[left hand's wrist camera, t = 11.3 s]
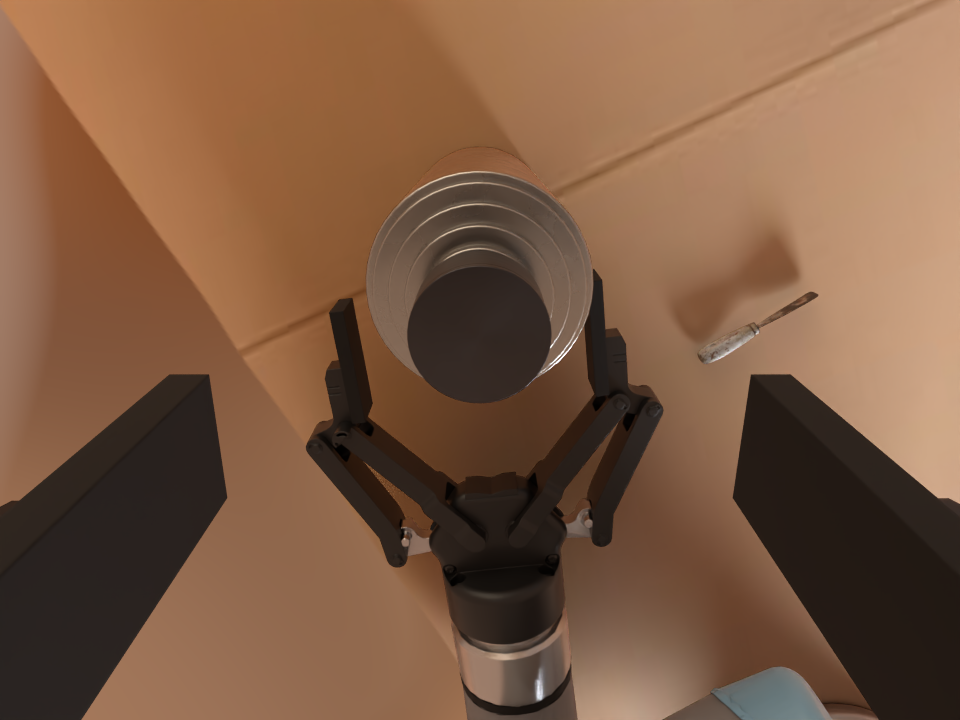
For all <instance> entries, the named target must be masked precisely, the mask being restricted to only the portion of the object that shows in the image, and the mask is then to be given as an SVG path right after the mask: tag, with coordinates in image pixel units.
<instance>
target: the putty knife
mask: <svg viewBox="0 0 960 720" xmlns="http://www.w3.org/2000/svg"><path fill="white" fill-rule="evenodd" d="M817 296H818V294H816V293H814V292H809V293H807V294H805V295H803V296H802V297H800V298H799V299H797V300H796V301H794V302H792V303H791V304H789V305H787V306H786V307H784V308H783V309H781V310H779V311H778V312H776V313H774V314H773V315H771V316H770V317H768V318H767V319H765V320H764V321H762V322H761V323H759V324H757V325H756V324H755V323H754V322H753V323H751V324H749V325H746V326H744V327H741V328H739V329H737V330H735V331H733V332H731V333H729V334H727V335H725V336H723V337H721V338H719V339H718V340H716V341H714V342H713V343H711V344H709V345H707V346H706V347H704V348H702V349H701V350H700V351H699V352H698V357H699V359H700V361H701V362H702V363H704V364H709V363H711V362H714V361H716V360H718V359H720V358H722V357H724V356H725V355H727V354H729V353H730V352H732V351H734V350H735V349H737V348H738V347H740V346H742V345H743V344H745V343H746V342H748V341H749V340H750V339H752V338H753V337H754V336H755V335H756V334H758V333H760V331H759V328H760V327H762V326H764V325H766V324H768V323H770V322H772V321H774V320H776V319H778V318H780V317H782V316H784V315H786V314H788V313H790V312H792V311H793V310H795V309H797V308H799V307H801V306H802V305H804V304H806V303H808V302H809V301H811V300H813V299H814V298H816V297H817Z"/></svg>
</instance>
